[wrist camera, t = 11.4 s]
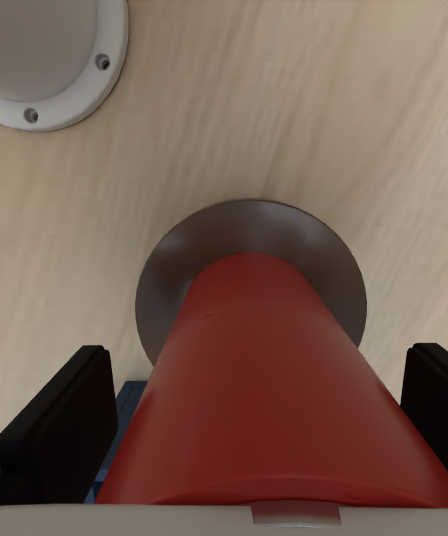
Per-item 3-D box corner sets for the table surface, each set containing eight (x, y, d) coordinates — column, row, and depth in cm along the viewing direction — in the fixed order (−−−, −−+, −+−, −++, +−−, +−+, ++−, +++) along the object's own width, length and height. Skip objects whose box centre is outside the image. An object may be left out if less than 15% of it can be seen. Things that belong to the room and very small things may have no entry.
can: (178, 253, 15) (-20, 498, 3) (321, 250, 15) (644, 504, 3) (186, 377, 17) (70, 836, 5) (314, 377, 16) (511, 860, 5)
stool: (162, 195, 22) (123, 202, 14) (327, 191, 22) (378, 196, 14) (173, 343, 25) (144, 416, 17) (319, 342, 24) (358, 416, 17)
